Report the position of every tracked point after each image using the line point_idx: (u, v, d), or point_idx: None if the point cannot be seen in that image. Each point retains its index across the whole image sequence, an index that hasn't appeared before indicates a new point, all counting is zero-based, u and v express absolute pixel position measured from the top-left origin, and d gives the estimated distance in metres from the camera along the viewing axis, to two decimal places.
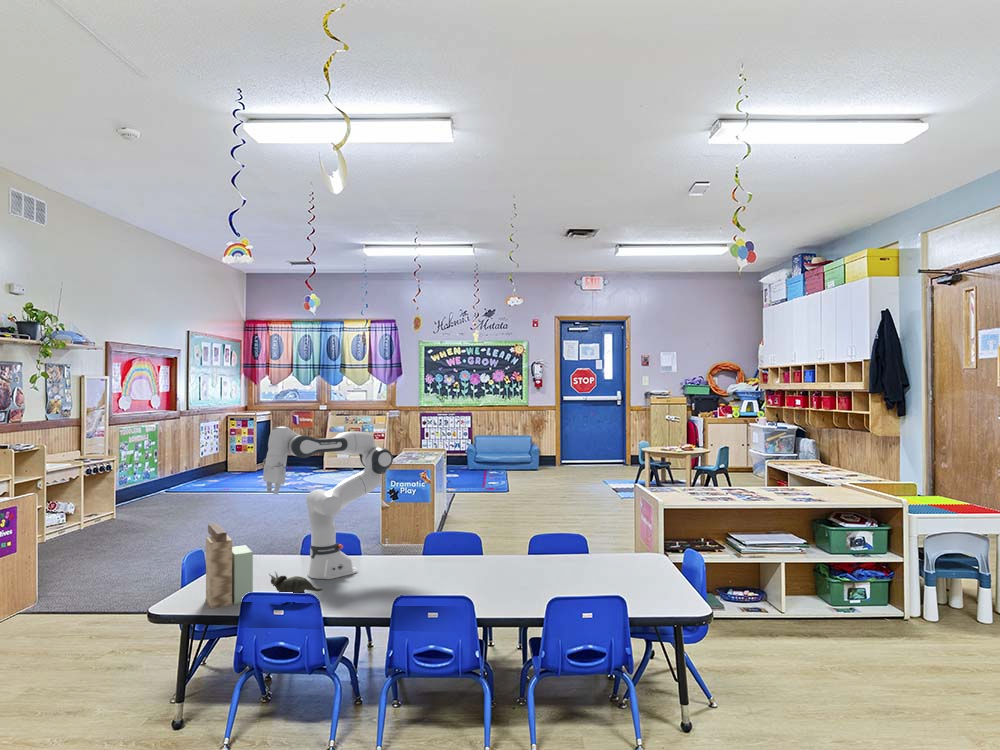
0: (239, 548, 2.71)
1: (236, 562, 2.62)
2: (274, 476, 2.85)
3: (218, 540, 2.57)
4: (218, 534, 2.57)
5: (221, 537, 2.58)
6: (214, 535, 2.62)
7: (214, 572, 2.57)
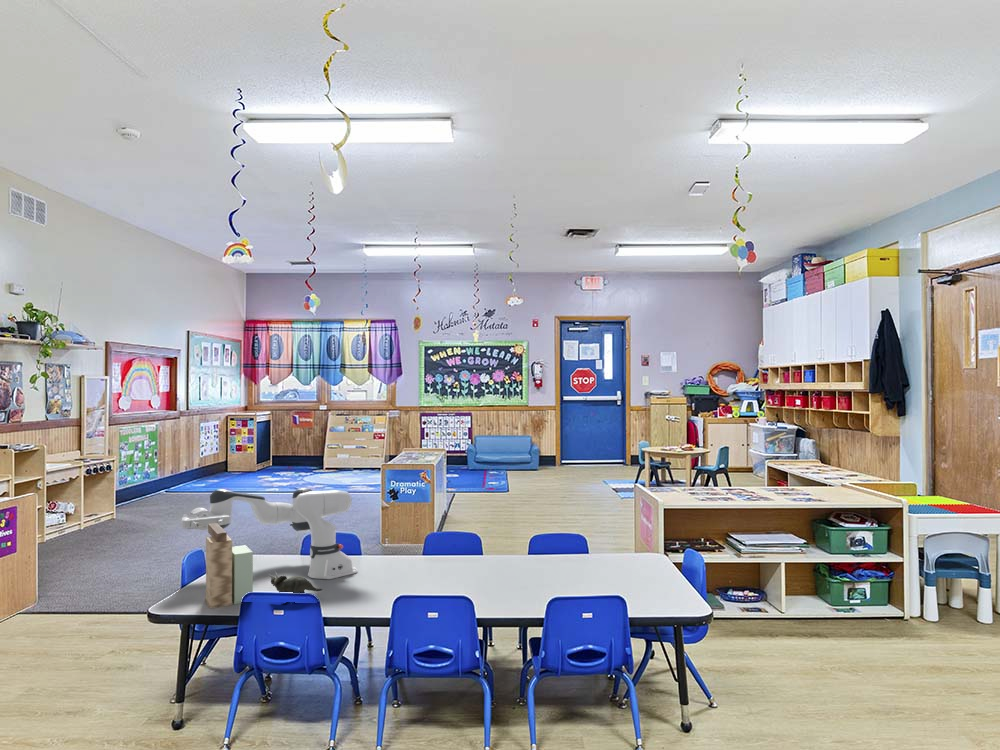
0: (239, 548, 2.71)
1: (236, 562, 2.62)
2: (218, 516, 2.94)
3: (218, 540, 2.57)
4: (218, 534, 2.57)
5: (221, 537, 2.58)
6: (214, 535, 2.62)
7: (214, 572, 2.57)
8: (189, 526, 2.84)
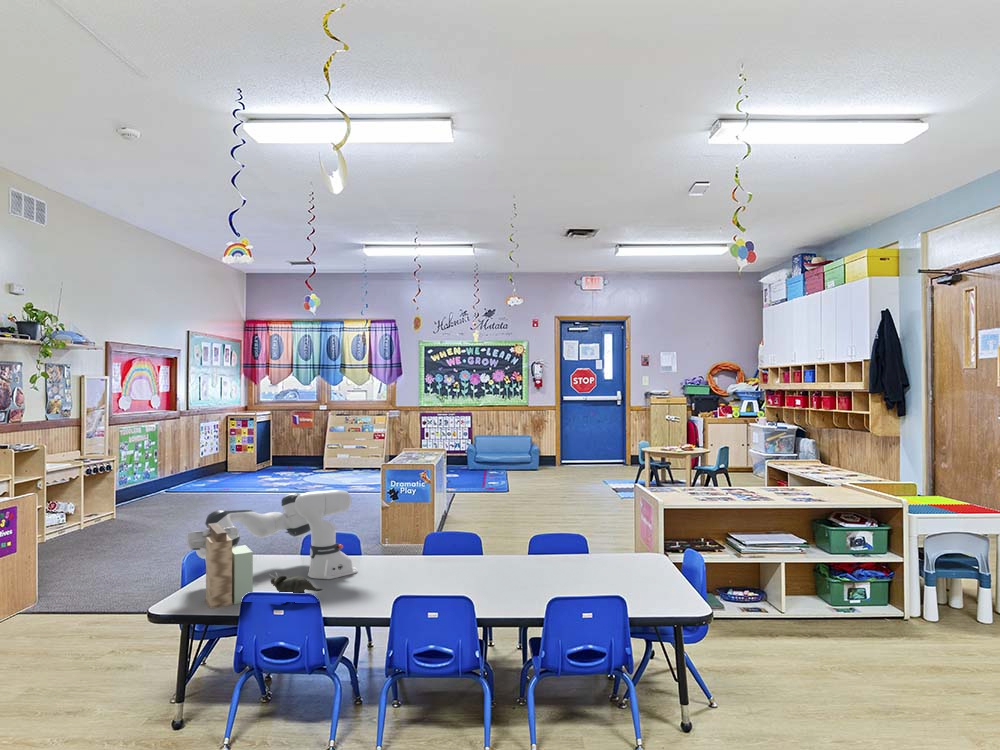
0: (239, 548, 2.71)
1: (236, 562, 2.62)
2: None
3: (218, 540, 2.57)
4: (218, 534, 2.57)
5: (221, 537, 2.58)
6: (214, 535, 2.62)
7: (214, 572, 2.57)
8: (195, 537, 2.69)
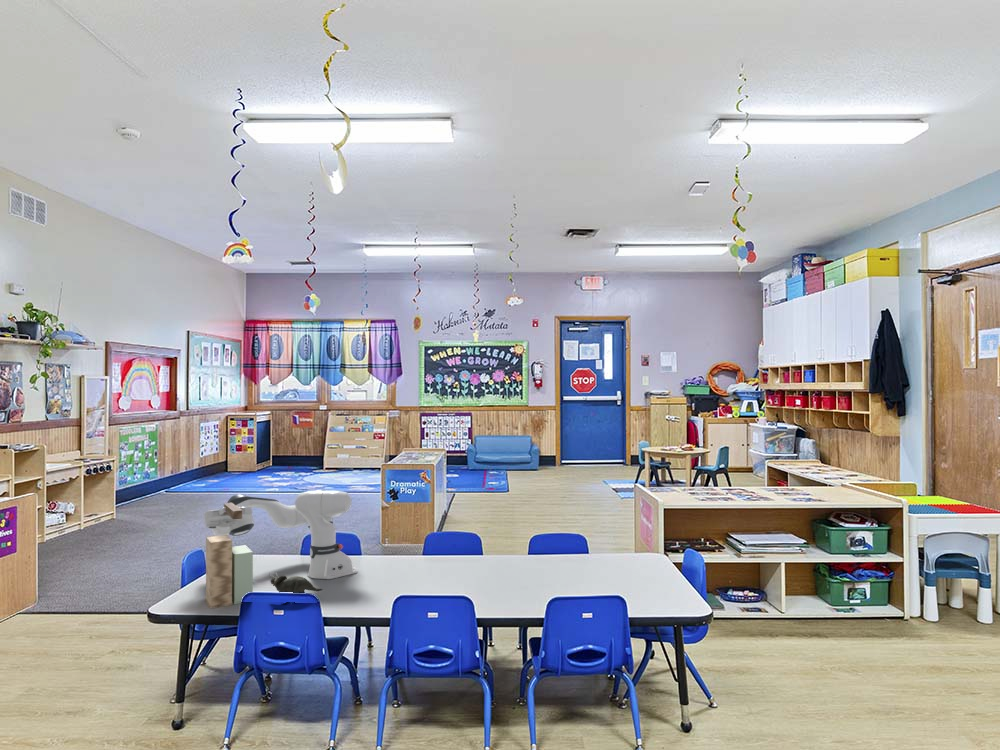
0: (239, 548, 2.71)
1: (236, 562, 2.62)
2: None
3: (234, 517, 2.72)
4: (234, 512, 2.72)
5: (237, 514, 2.73)
6: (230, 513, 2.77)
7: (214, 572, 2.57)
8: (211, 516, 2.84)
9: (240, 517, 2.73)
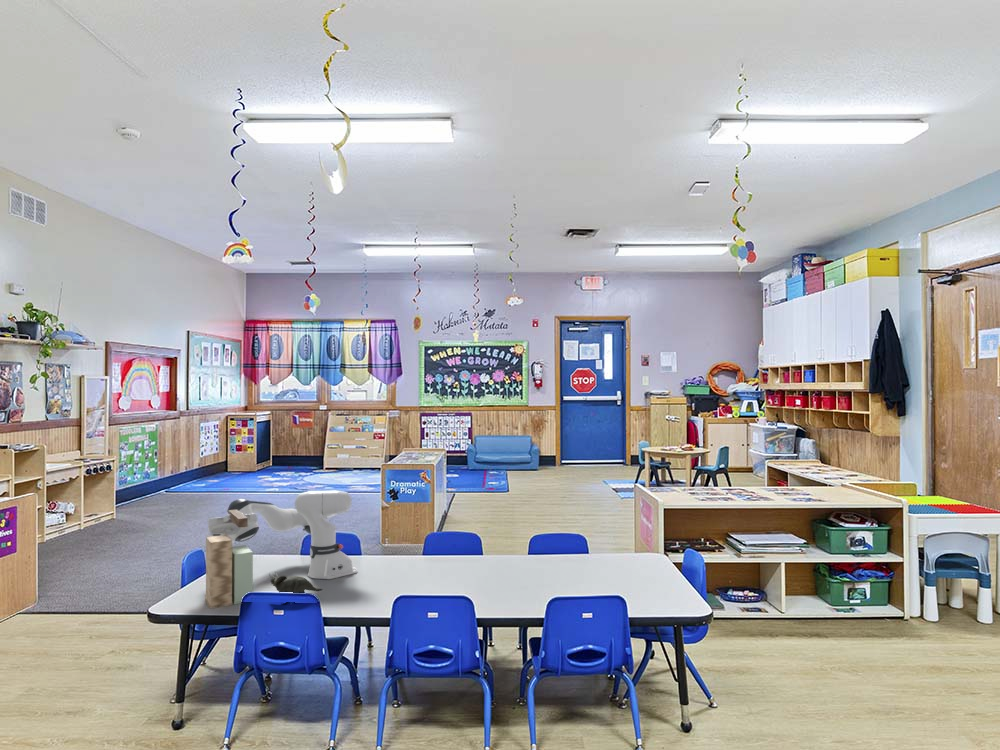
0: (239, 548, 2.71)
1: (236, 562, 2.62)
2: None
3: (239, 525, 2.63)
4: (239, 519, 2.63)
5: (242, 522, 2.63)
6: (235, 521, 2.68)
7: (214, 572, 2.57)
8: (216, 523, 2.75)
9: (245, 525, 2.64)
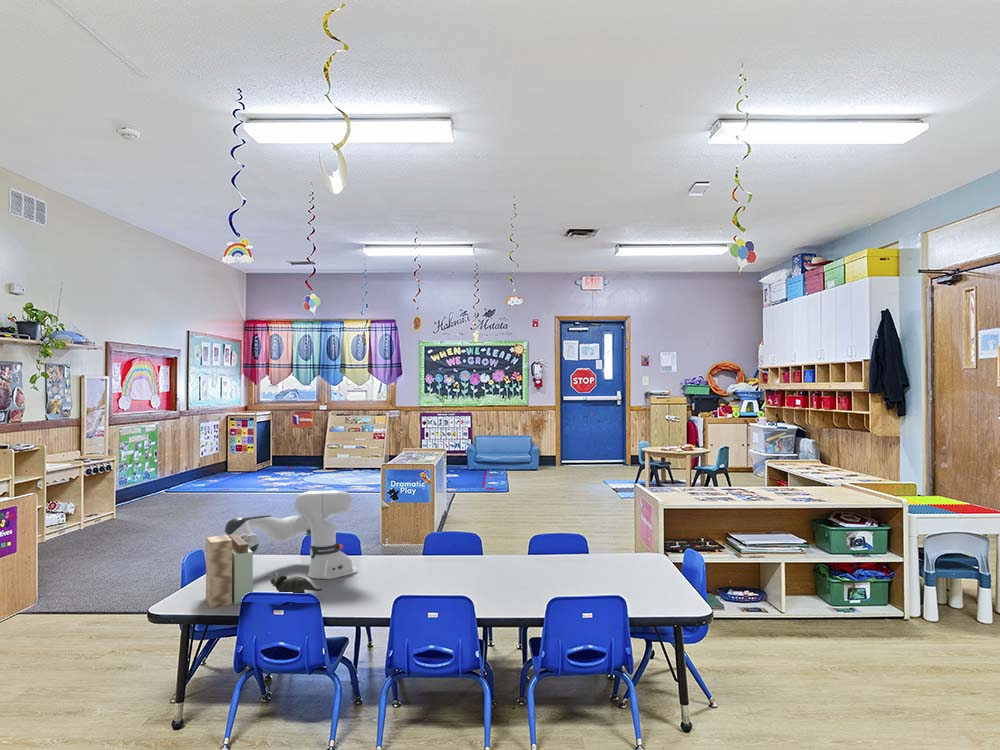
0: None
1: (236, 562, 2.62)
2: None
3: (240, 551, 2.62)
4: (240, 546, 2.63)
5: (243, 548, 2.63)
6: (235, 546, 2.67)
7: (214, 572, 2.57)
8: None
9: (246, 551, 2.64)
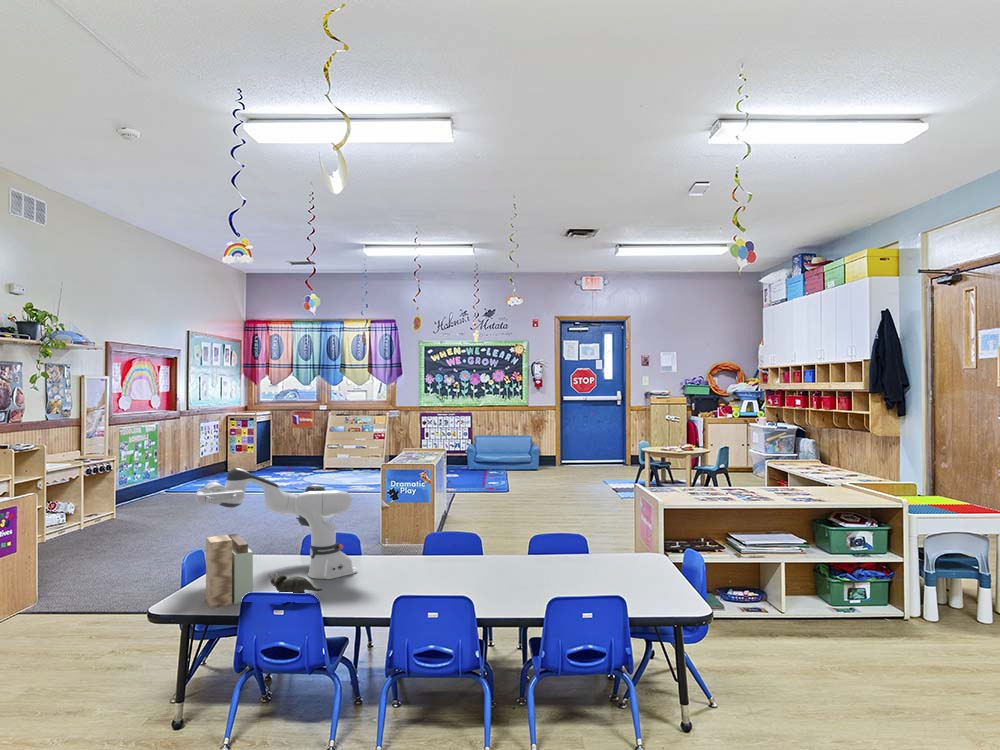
0: None
1: (236, 562, 2.62)
2: (232, 491, 2.97)
3: (240, 551, 2.62)
4: (240, 546, 2.63)
5: (243, 548, 2.63)
6: (235, 546, 2.67)
7: (214, 572, 2.57)
8: (204, 500, 2.88)
9: (246, 551, 2.64)
